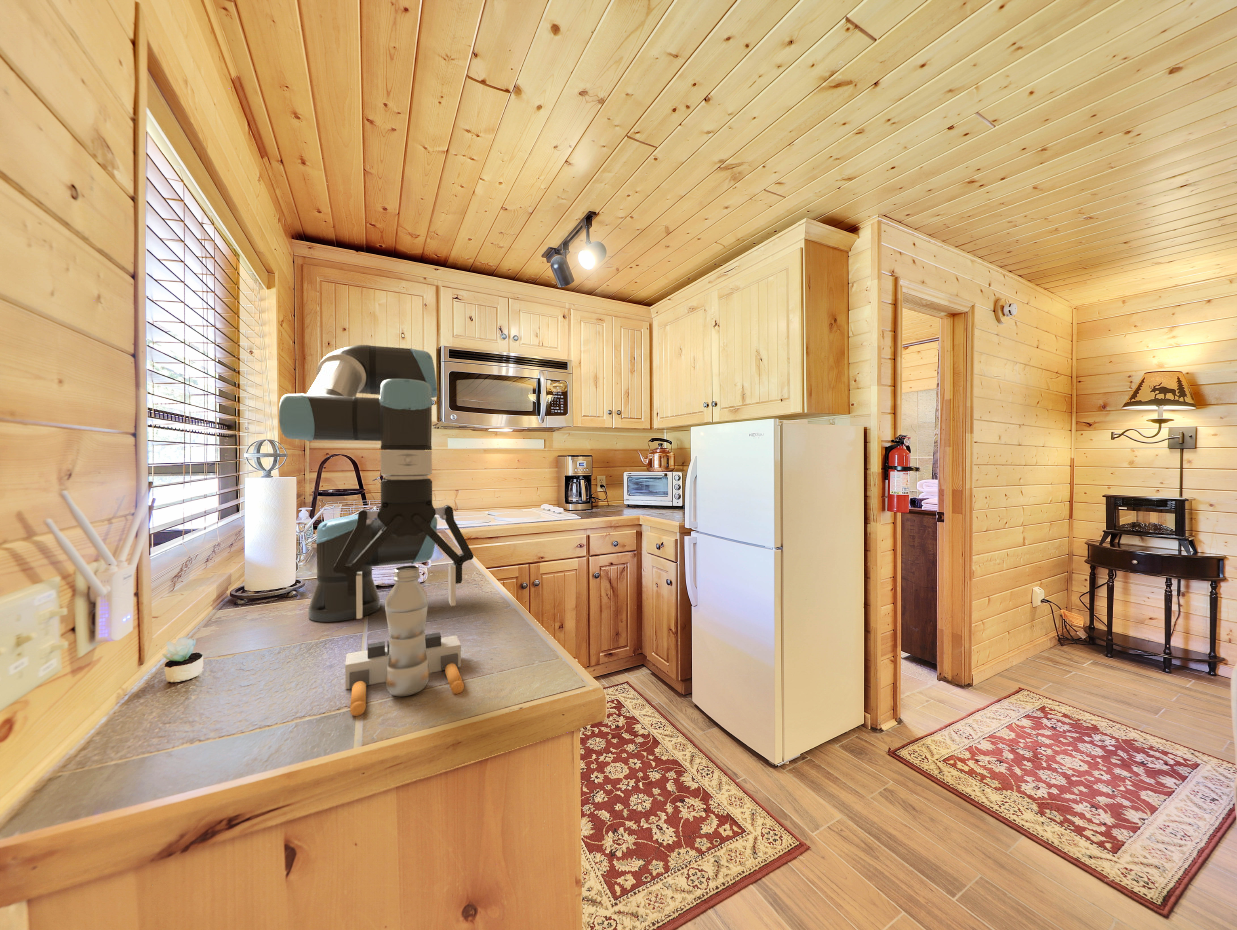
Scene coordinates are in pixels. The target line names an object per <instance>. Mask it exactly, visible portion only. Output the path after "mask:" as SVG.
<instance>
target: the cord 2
mask: <svg viewBox="0 0 1237 930" xmlns="http://www.w3.org/2000/svg"><path fill="white" fill-rule="evenodd" d="M444 673H445V676H446V679H447V681H448V685H449V688H450V690H451V693H452V694H454V695H459V694H461V693H462V692H463V691H464V687H465V684H464V682H463V679H462V676H461V674H460V672H459V669H458V667H457V666H456V665H455V664H453V663H451V664H448V665H447V666H446V668H445V670H444Z"/></svg>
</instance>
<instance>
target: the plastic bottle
mask: <svg viewBox="0 0 1237 930" xmlns="http://www.w3.org/2000/svg"><path fill="white" fill-rule="evenodd" d="M420 578H421V575H420V566H419V565H415V564H411V565H410V564H408V565H407V564H406V565H401V566H398V567H394V577H393V581H394V582H395V584H394V586H393V587H392V588H391V589H390V591H389V592H388V594H387V595H386V598H385V601H384V610H385V616H386V622H387V629H388V641H389V657H388V666H387V670H386V677H385V686H386V691H387V692H389V694H390V695H392V696H394V697H407V696H412V695H415V694H418V693H419V692H422V690H424V689H425V687H427V684H428V683H429V678H430V674H431V673H430V670H429V664H428V660H427V654H426V644H425V635H426V627H427V626H426V625H427V624H426V621H427V613H428V607H429V596H428V593H427V591H426V590H425V588H424V586H423V585H422V584H421V583H420V582H419V579H420Z"/></svg>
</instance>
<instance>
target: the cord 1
mask: <svg viewBox="0 0 1237 930" xmlns="http://www.w3.org/2000/svg"><path fill="white" fill-rule="evenodd" d="M366 697H367V685H366V684H365V682H363V681H358V682H356V683H355V684H354V685H353V687H352V688H351V696H350V706H349V709H350V710H349V712H350V714H351V715H352V716H353V717H358V716H361V715H363V714H364V712H365V710H366V705H367V703H366V702H367V698H366Z"/></svg>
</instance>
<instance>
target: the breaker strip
mask: <svg viewBox="0 0 1237 930" xmlns="http://www.w3.org/2000/svg"><path fill="white" fill-rule="evenodd" d="M386 643H387V644H386ZM425 644H426V654H427V660H428V664H429V670H430V673H429V674H431V673H436V672H441V671H445V668H446V666H447V665H448V664H451V663H453V664H455V665H456V666H457V668H461V667H462V646H461V642H460V640H459V638H458V636H457V635H451V636H445V637H442V635H441V632H435V633H434V632H432V633H427V634H426V633H425ZM388 657H389V640H387V641H377V642H371V643H367V650H359V651H354V652H348V653H346V657H345V658H346V659H345V664H344V666H345V667H344V668H345V669H344V672H345V673H344V674H345V675H344V677H345V682H344V683H345V687H344V688H345V690H349V689H352V687H353V685H354V684H355V683H356V682H358V681H363V682H365V684H366V686H370V685H375V684H379V683H384V682H385V677H386V670H387V666H388ZM385 683H386V682H385Z"/></svg>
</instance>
